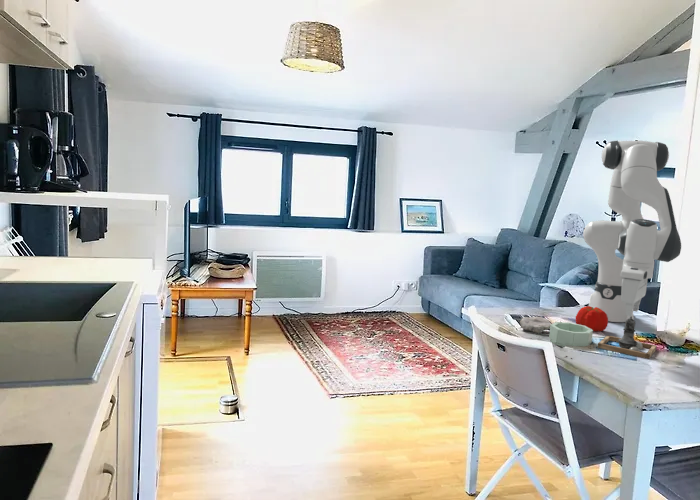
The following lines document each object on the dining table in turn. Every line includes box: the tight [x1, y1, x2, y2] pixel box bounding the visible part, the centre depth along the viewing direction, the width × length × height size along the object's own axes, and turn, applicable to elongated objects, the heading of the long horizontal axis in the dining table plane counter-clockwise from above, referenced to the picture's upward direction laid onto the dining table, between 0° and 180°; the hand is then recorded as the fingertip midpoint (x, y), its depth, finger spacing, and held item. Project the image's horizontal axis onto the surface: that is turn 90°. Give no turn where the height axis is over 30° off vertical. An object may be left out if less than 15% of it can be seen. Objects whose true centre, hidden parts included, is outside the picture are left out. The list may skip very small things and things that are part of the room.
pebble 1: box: [630, 347, 641, 352], centre depth 177 cm, size 3×3×3 cm
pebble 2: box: [635, 340, 644, 350], centre depth 184 cm, size 3×3×3 cm
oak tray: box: [597, 334, 657, 360], centre depth 182 cm, size 13×15×2 cm
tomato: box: [575, 305, 609, 332], centre depth 204 cm, size 11×11×9 cm
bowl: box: [548, 321, 594, 348], centre depth 188 cm, size 12×12×6 cm
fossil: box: [519, 316, 552, 334], centre depth 201 cm, size 9×6×10 cm
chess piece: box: [618, 316, 639, 349], centre depth 181 cm, size 6×6×12 cm
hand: (631, 313), depth 180 cm, fingers open, 8 cm apart
